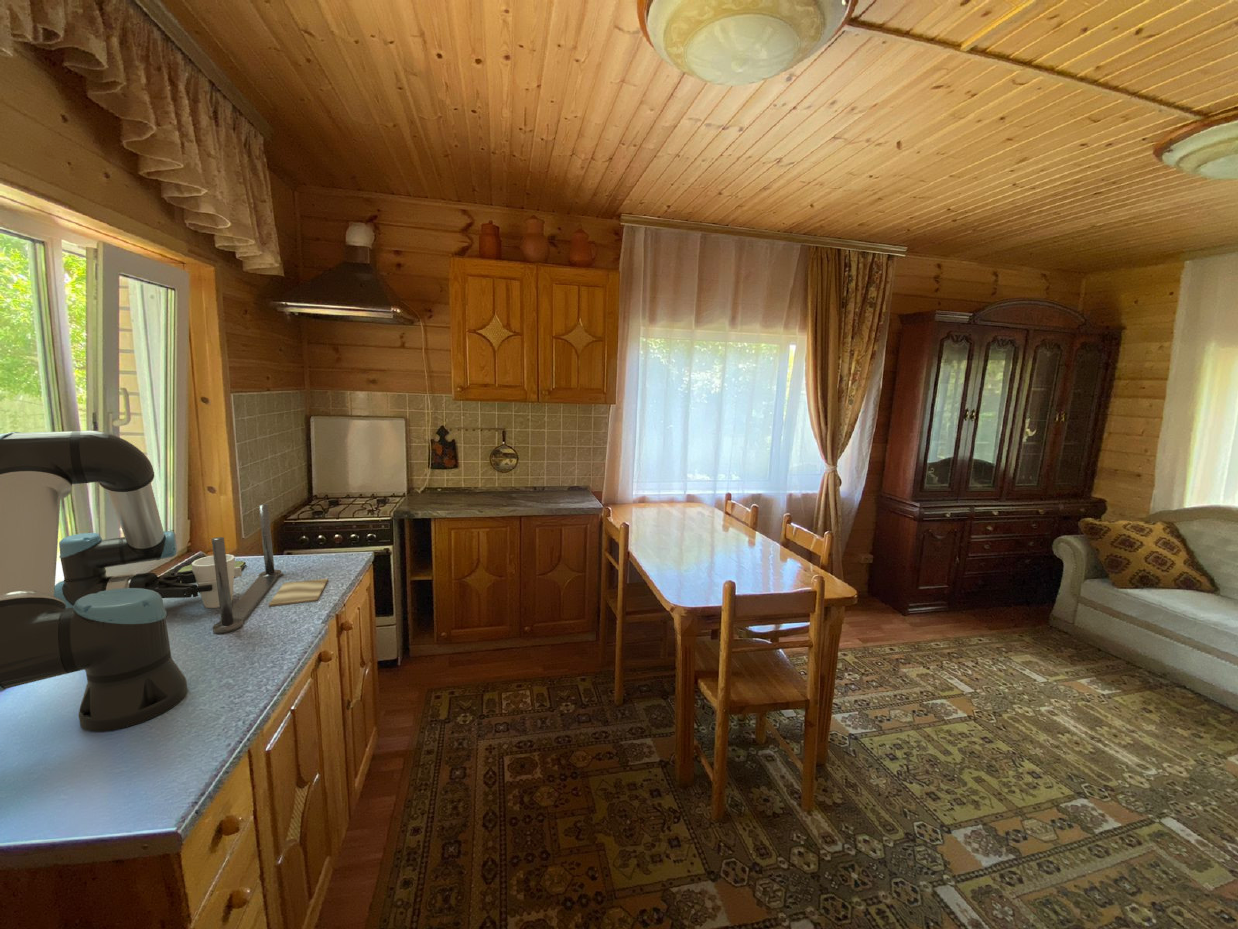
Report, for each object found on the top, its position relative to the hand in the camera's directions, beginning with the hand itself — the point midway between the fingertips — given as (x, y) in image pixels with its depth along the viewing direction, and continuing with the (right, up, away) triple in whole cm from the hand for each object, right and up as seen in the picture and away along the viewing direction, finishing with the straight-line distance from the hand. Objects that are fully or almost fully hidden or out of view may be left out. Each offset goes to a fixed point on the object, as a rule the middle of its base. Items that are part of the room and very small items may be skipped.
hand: (234, 578), depth 141 cm
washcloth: (-24, -4, +19) cm, 31 cm away
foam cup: (-4, -7, 0) cm, 8 cm away
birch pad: (+14, -6, +8) cm, 17 cm away
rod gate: (+3, -7, +2) cm, 8 cm away
